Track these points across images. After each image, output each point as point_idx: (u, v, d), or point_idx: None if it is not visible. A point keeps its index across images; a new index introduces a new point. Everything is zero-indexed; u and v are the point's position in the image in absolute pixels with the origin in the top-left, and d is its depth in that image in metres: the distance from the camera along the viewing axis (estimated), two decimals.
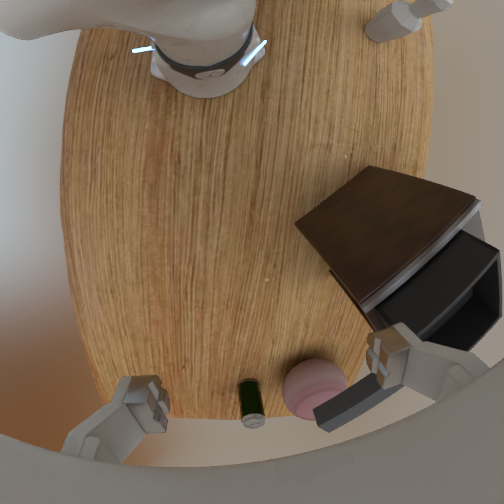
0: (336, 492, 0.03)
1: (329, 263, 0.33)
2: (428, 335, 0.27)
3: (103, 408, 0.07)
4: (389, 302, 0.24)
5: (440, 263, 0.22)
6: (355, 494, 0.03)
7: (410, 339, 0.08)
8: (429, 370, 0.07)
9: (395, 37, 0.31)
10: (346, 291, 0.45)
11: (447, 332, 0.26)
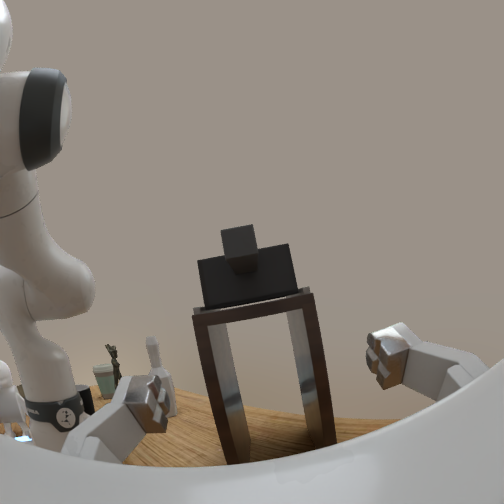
0: (336, 492, 0.03)
1: None
2: None
3: (103, 408, 0.07)
4: None
5: None
6: (355, 494, 0.03)
7: (410, 339, 0.08)
8: (429, 370, 0.07)
9: (170, 394, 0.61)
10: (322, 430, 0.28)
11: None
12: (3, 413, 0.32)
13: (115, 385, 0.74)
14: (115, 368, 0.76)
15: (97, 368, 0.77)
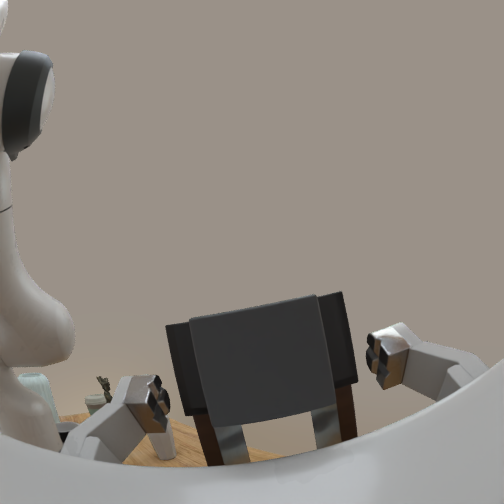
0: (336, 492, 0.03)
1: None
2: None
3: (103, 408, 0.07)
4: None
5: None
6: (355, 494, 0.03)
7: (410, 339, 0.08)
8: (429, 370, 0.07)
9: (168, 436, 0.50)
10: None
11: None
12: None
13: None
14: (108, 401, 0.65)
15: (89, 400, 0.66)
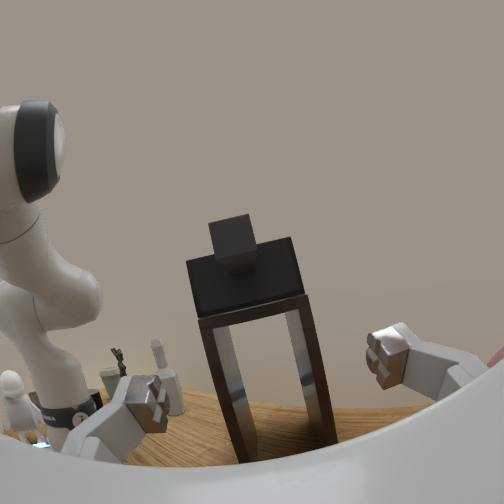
0: (336, 492, 0.03)
1: (214, 384, 0.32)
2: None
3: (103, 408, 0.07)
4: None
5: None
6: (355, 494, 0.03)
7: (410, 339, 0.08)
8: (429, 370, 0.07)
9: (177, 393, 0.64)
10: (322, 420, 0.31)
11: None
12: (17, 422, 0.34)
13: None
14: (122, 371, 0.79)
15: (104, 372, 0.80)
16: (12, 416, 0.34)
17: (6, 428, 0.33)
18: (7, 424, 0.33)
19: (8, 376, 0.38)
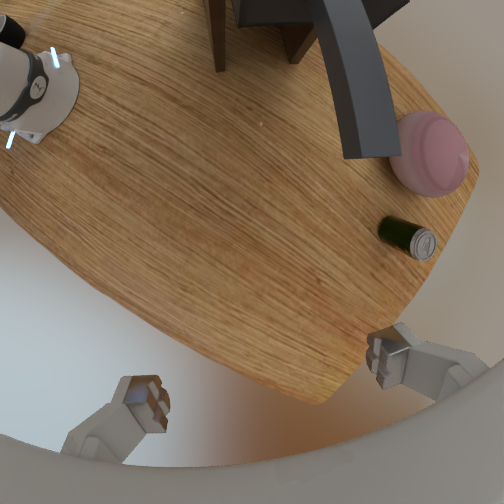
0: (336, 492, 0.03)
1: (210, 21, 0.21)
2: None
3: (103, 408, 0.07)
4: (234, 8, 0.13)
5: None
6: (355, 494, 0.03)
7: (410, 339, 0.08)
8: (429, 370, 0.07)
9: None
10: (301, 43, 0.30)
11: None
12: None
13: None
14: None
15: None
16: None
17: None
18: None
19: None
